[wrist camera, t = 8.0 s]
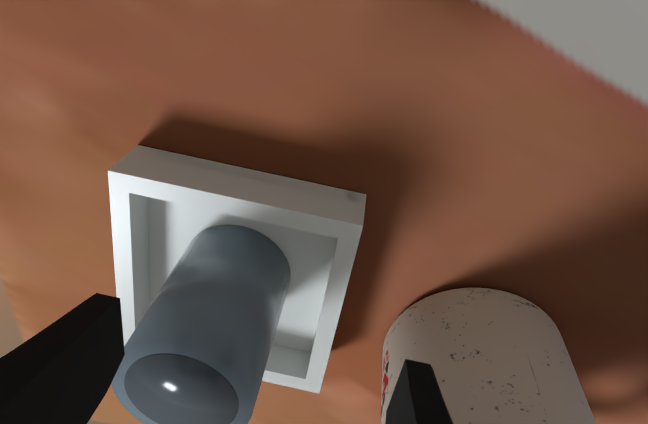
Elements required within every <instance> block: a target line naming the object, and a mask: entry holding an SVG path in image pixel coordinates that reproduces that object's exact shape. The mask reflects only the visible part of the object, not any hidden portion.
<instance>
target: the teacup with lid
mask: <svg viewBox="0 0 648 424" xmlns="http://www.w3.org/2000/svg"><path fill="white" fill-rule="evenodd" d="M405 359H409V360H413V361H418V362H423V363H427V364H430V365H431V366H432V368H433V370H434V373H435V376H436V379H437V382H438V385H439V388H440V391H441V393H442V396H443V399H444V401H445V404H446V407H447V409H448V412H449V414H450V417H451V419H452V422H453V424H596V422H595V419H594V417H593V414H592V412H591V409H590V407H589V404H588V402H587V399H586V397H585V394H584V392H583V389H582V387H581V384H580V382H579V379H578V376H577V374H576V371H575V369H574V366H573V364H572V361H571V359H570V356H569V354H568V351H567V349H566V346H565V344H564V341H563V339H562V336H561V334H560V331H559V330H558V328H557V326H556V324H555V323H554V322H553V320H552V319H551V318H550V317H549V316H548V315H547V314H546V313H545V312H544V311H543V310H542V309H540V308H539V307H538V306H536V305H535V304H533V303H532V302H530V301H528V300H526V299H525V298H522V297H520V296H518V295H515V294H512V293H509V292H505V291H501V290H496V289H490V288H459V289H452V290H447V291H443V292H439V293H436V294H433V295H431V296H428V297H426V298H424V299H422V300H420V301H418V302H416V303H415V304H413V305H411V306H410V307H409V308H407V309H406V310H405V311H404V312H403V313H401V314H400V315H399V317H398V318H397V319H396V320H395V321H394V323H393V324H392V326H391V327H390V329H389V331H388V333H387V335H386V338H385V341H384V346H383V364H382V398H381V424H385V421H386V411H387V408H388V405H389V402H390V400H391V397H392V394H393V391H394V389H395V386H396V383H397V380H398V378H399V375H400V372H401V369H402V367H403V364H404V361H405Z"/></svg>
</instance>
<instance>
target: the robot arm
mask: <svg viewBox="0 0 648 424" xmlns="http://www.w3.org/2000/svg"><path fill="white" fill-rule="evenodd" d="M124 355H125V351H124V339H123V327H122V315H121V303H120V298H117V297H112V296H107V295H103V294H98V293H96V294H94V295H93V296H91V297H90V298H88V299H87V300H85V301H84V302H83V303H81V304H80V305H78V306H77V307H75V308H74V309H73V310H71V311H70V312H68V313H67V314H65V315H64V316H63V317H61V318H60V319H58V320H57V321H55V322H54V323H52V324H51V325H50V326H48V327H47V328H45V329H44V330H42V331H41V332H39V333H38V334H36V335H35V336H33V337H32V338H30V339H29V340H27V341H26V342H24V343H23V344H21V345H20V346H18V347H17V348H15V349H14V350H12V351H11V352H9V353H8V354H6V355H5V356H3V357H1V358H0V424H87V423H88V421H89V419H90V418H91V416H92V415H93V413H94V412H95V410H96V408H97V407H98V405H99V404H100V402H101V401H102V399H103V397H104V396H105V394H106V392H107V390H108V388H109V386H110V384H111V382H112V380H113V378H114V377H115V374H116V372H117V370H118V368H119V366H120V364H121V362H122V360H123V357H124ZM385 424H453V422H452V419H451V417H450V414H449V412H448V409H447V407H446V404H445V401H444V399H443V396H442V393H441V391H440V388H439V385H438V382H437V379H436V376H435V373H434V370H433V368H432V366H431V365H430V364H427V363H423V362H418V361H413V360H409V359H405V361H404V364H403V367H402V369H401V372H400V375H399V378H398V380H397V383H396V386H395V389H394V391H393V394H392V397H391V400H390V402H389V405H388V408H387V411H386V421H385Z"/></svg>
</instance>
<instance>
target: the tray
mask: <svg viewBox="0 0 648 424" xmlns="http://www.w3.org/2000/svg"><path fill="white" fill-rule="evenodd" d="M108 180H109V194H110V209H111V223H112V237H113V252H114V266H115V280H116V295H117V298H120V303H121V315H122V327H123V339H124V346H125V345H126V343H127V341H128V340H129V338H130V337H131V335H132V334H133V332H134V330H135V329H136V327H137V326H138V324H139V322H140V321H141V319H142V318H143V316H144V315H145V313H146V311H147V310H148V308H149V307H150V305H151V303H152V302H153V300H154V299H155V297H156V296H157V294H158V292H159V291H160V289H161V288H162V286H163V285H164V283H165V281H166V280H167V278H168V277H169V275H170V273H171V272H172V270H173V269H174V267H175V266H176V264H177V262H178V261H179V259H180V258H181V256H182V255H183V253H184V251H185V250H186V248H187V247H188V245H189V243H190V242H191V241H192V239H193V238H194V237H195V236H196V235H197V234H199V233H200V232H201V231H203V230H205V229H207V228H210V227H213V226H217V225H226V224H230V225H240V226H244V227H248V228H251V229H253V230H256V231H258V232H260V233H262V234H264V235H265V236H267V237H268V238H270V239H271V240H272V241H273V242H274V243H275V244H276V245H277V246H278V247H279V248H280V249H281V250H282V252H283V253H284V255H285V257H286V258H287V261H288V263H289V267H290V272H291V279H290V284H289V288H288V291H287V295H286V298H285V302H284V305H283V309H282V312H281V316H280V319H279V323H278V326H277V329H276V333H275V336H274V340H273V343H272V347H271V350H270V354H269V357H268V361H267V364H266V368H265V371H264V374H263V378H262V381H265V382H270V383H274V384H279V385H283V386H288V387H292V388H297V389H301V390H306V391H310V392H315V393H319V392H320V389H321V385H322V381H323V377H324V373H325V369H326V366H327V362H328V358H329V354H330V350H331V347H332V343H333V339H334V335H335V331H336V328H337V324H338V320H339V316H340V312H341V309H342V305H343V301H344V297H345V293H346V289H347V286H348V282H349V278H350V274H351V270H352V267H353V263H354V259H355V255H356V251H357V248H358V244H359V240H360V236H361V232H362V228H363V223H364V213H365V204H366V194H363V193H358V192H353V191H349V190H344V189H339V188H335V187H330V186H326V185H321V184H316V183H312V182H307V181H302V180H298V179H293V178H289V177H284V176H279V175H275V174H270V173H265V172H261V171H256V170H252V169H247V168H242V167H238V166H233V165H228V164H224V163H219V162H215V161H210V160H205V159H201V158H196V157H191V156H187V155H182V154H177V153H173V152H168V151H164V150H159V149H154V148H150V147H145V146H140V145H136V146H135V147H134V148H133V149H132V150H131V151H130V152H128V153H127V154H126V155H125V156H124V157H123V158H122V159H120V160H119V161H118V162H117V163H116V164H115V165H114V166H112V167H111V168H110V169H109V170H108Z"/></svg>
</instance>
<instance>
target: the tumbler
mask: <svg viewBox="0 0 648 424" xmlns="http://www.w3.org/2000/svg"><path fill="white" fill-rule="evenodd" d="M290 279H291V272H290V267H289V263H288V261H287V258H286V257H285V255H284V253H283V252H282V250H281V249H280V248H279V247H278V246H277V245H276V244H275V243H274V242H273V241H272V240H271V239H270V238H268V237H267V236H265V235H264V234H262V233H260V232H258V231H256V230H253V229H251V228H248V227H244V226H240V225H230V224H226V225H217V226H213V227H210V228H207V229H205V230H203V231H201V232H200V233H199V234H197V235H196V236H195V237H194V238H193V239H192V241H191V242H190V243H189V245H188V247H187V248H186V250H185V251H184V253H183V255H182V256H181V258H180V259H179V261H178V262H177V264H176V266H175V267H174V269H173V270H172V272H171V273H170V275H169V277H168V278H167V280H166V281H165V283H164V285H163V286H162V288H161V289H160V291H159V292H158V294H157V296H156V297H155V299H154V300H153V302H152V303H151V305H150V307H149V308H148V310H147V311H146V313H145V315H144V316H143V318H142V319H141V321H140V322H139V324H138V326H137V327H136V329H135V330H134V332H133V334H132V335H131V337H130V338H129V340H128V341H127V343H126V345H125V346H124V351H125V355H124V357H123V360H122V362H121V364H120V366H119V368H118V370H117V372H116V374H115V377H114V378H113V380H112V382H111V384H112V387H113V390H114V393H115V394H116V396H117V398H118V400H119V401H120V402H121V404H122V405H123V406H124V407H125V408H126V409H127V410H128V411H129V412H130V413H131V414H132V415H133V416H134V417H136V418H137V419H138V420H140V421H141V422H143V423H144V424H247V423H248V422H249V420H250V418H251V416H252V412H253V409H254V406H255V402H256V399H257V395H258V392H259V388H260V385H261V381H262V378H263V374H264V371H265V368H266V364H267V361H268V357H269V354H270V350H271V347H272V343H273V340H274V336H275V333H276V329H277V326H278V323H279V319H280V316H281V312H282V309H283V305H284V302H285V298H286V295H287V291H288V288H289V284H290Z"/></svg>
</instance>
